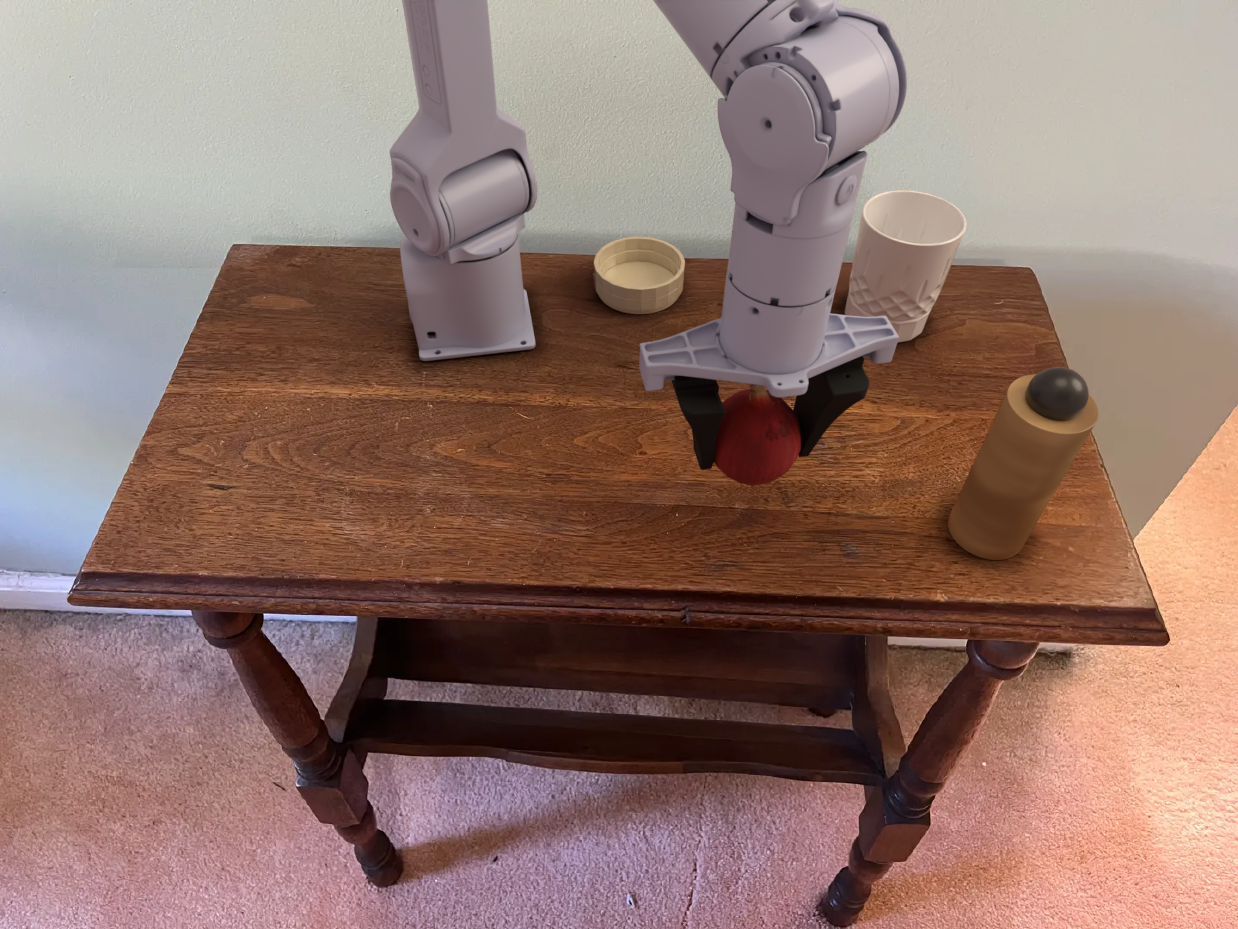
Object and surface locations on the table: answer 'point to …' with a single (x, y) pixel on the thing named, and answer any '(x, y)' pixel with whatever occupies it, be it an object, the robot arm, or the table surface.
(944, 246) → the white cup
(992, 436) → the pepper mill
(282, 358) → the table surface
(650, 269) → the bowl
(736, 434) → the onion
